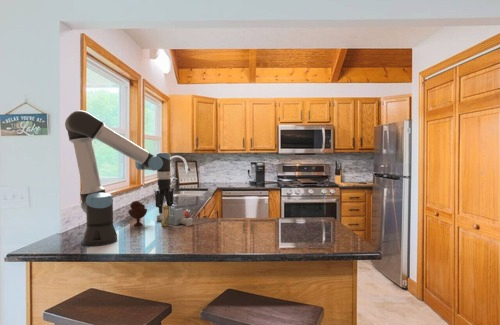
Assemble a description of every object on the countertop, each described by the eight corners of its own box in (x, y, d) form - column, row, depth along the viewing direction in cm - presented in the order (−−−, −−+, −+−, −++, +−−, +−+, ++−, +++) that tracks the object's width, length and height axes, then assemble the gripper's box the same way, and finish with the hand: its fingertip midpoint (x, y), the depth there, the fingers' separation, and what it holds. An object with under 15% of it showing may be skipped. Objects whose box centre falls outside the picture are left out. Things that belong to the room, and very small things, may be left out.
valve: (185, 226, 180) (185, 211, 179) (154, 222, 193) (154, 208, 192) (201, 221, 192) (201, 207, 192) (172, 218, 206) (171, 204, 205)
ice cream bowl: (144, 227, 179) (143, 201, 179) (125, 227, 179) (124, 202, 179) (150, 223, 189) (150, 199, 189) (132, 223, 190) (132, 199, 189)
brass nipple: (164, 227, 179) (164, 206, 179) (160, 226, 181) (159, 206, 181) (169, 225, 182) (169, 205, 182) (165, 224, 184) (164, 205, 184)
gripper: (157, 180, 171) (158, 221, 172) (179, 177, 186) (180, 215, 187) (148, 179, 175) (149, 220, 176) (170, 177, 190) (171, 214, 191)
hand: (165, 217), depth 182 cm, fingers open, 4 cm apart
